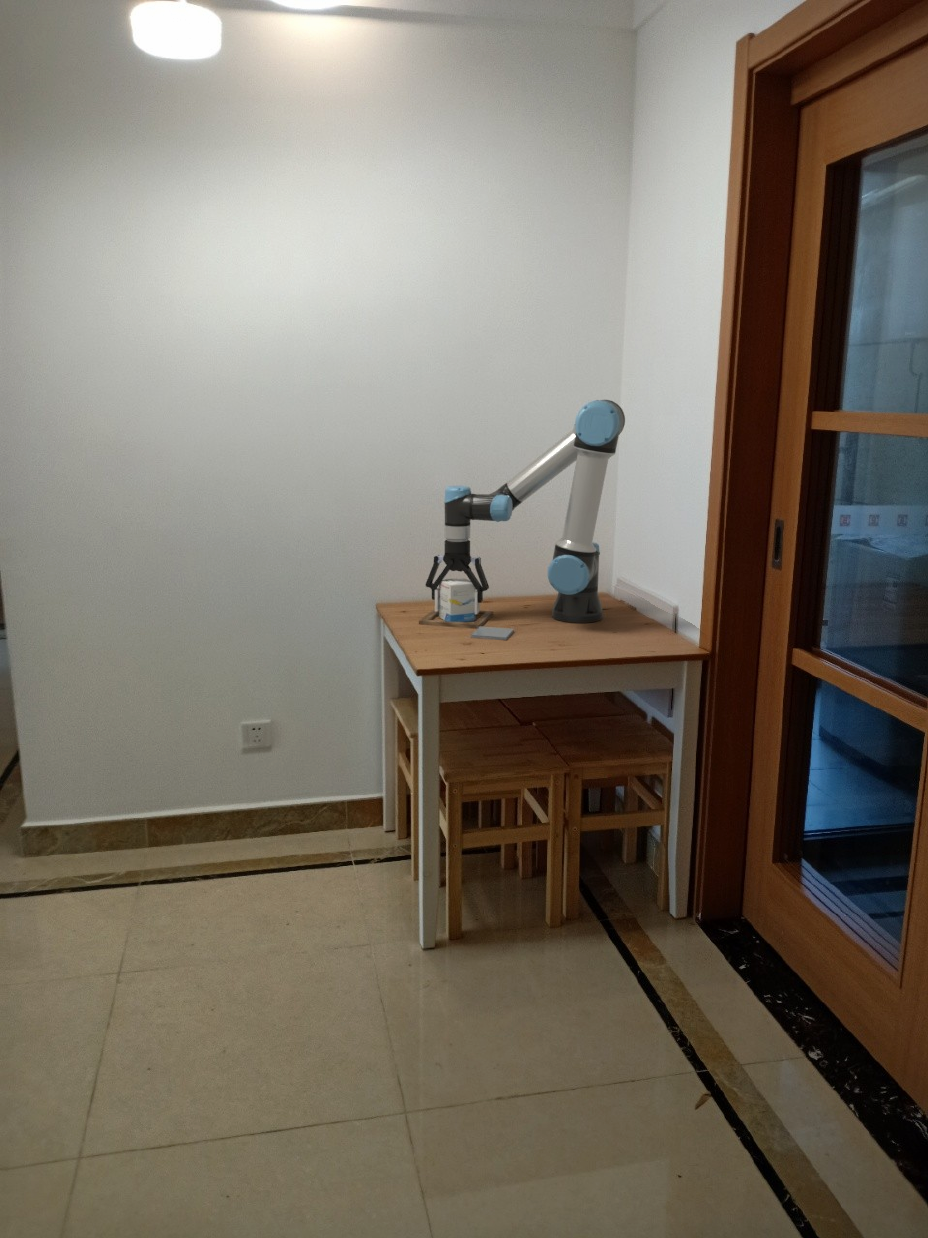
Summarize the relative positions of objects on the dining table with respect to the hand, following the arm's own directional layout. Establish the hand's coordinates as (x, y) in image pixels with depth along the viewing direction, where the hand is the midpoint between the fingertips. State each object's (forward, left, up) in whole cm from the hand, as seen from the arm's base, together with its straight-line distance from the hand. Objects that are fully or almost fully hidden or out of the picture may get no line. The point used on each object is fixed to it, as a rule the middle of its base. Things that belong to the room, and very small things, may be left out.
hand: (457, 612), depth 301 cm
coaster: (-15, +15, -2) cm, 21 cm away
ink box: (0, 0, -2) cm, 2 cm away
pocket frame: (0, 0, -2) cm, 2 cm away
